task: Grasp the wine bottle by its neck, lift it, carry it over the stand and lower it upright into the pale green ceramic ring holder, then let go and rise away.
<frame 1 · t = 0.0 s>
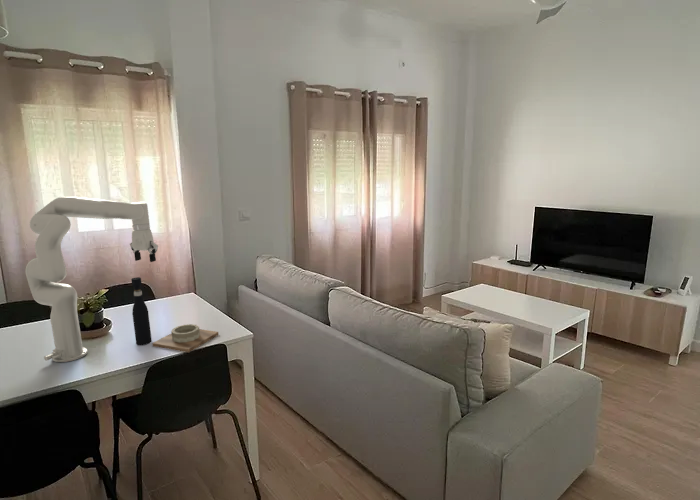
hand: (145, 260, 219), 31 cm above the table, tool pointing down, fingers open, 9 cm apart
bottle stand: (186, 340, 198), on the table
wine bottle: (144, 342, 196), on the table
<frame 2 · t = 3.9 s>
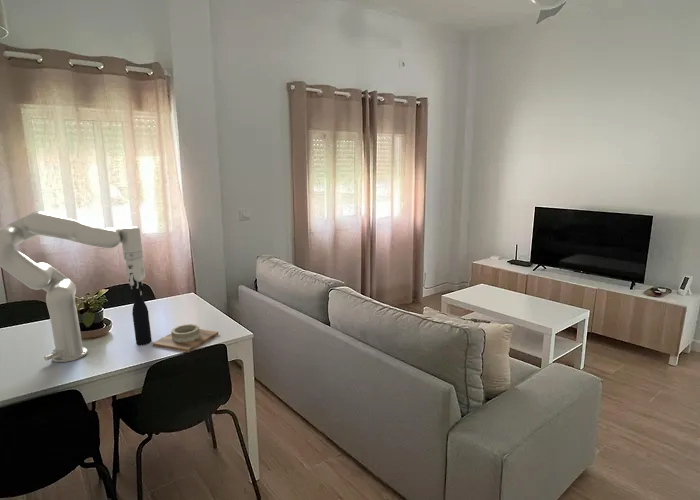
hand: (138, 295, 192), 22 cm above the table, tool pointing down, fingers closed on wine bottle, 3 cm apart
wine bottle: (144, 342, 196), on the table, touching gripper
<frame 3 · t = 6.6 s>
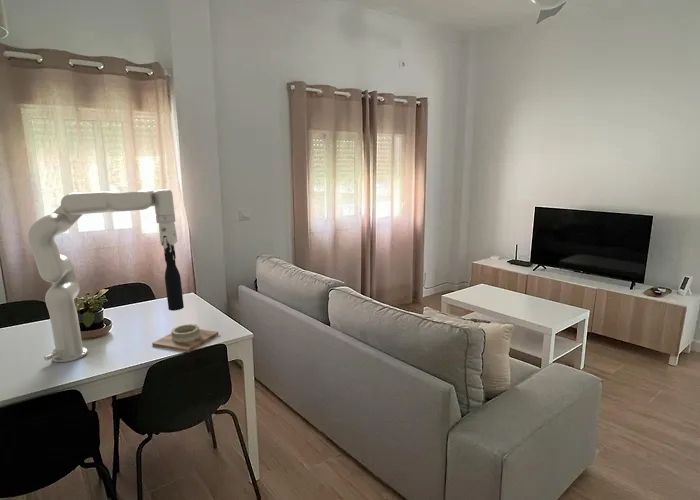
hand: (170, 259, 190), 38 cm above the table, tool pointing down, fingers closed on wine bottle, 3 cm apart
wine bottle: (176, 308, 194), point 15 cm above the table, touching gripper
when the fingers open (25 cm above the table, at t = 9.5 s): wine bottle drops 1 cm, resting on bottle stand.
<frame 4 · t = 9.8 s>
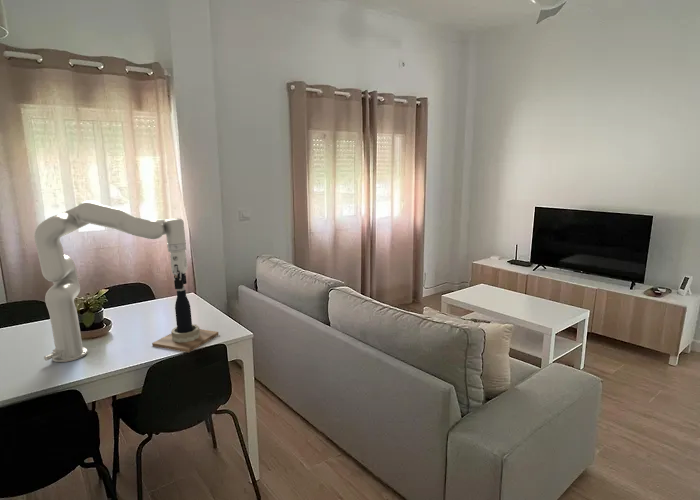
hand: (180, 286, 192), 26 cm above the table, tool pointing down, fingers open, 7 cm apart
wine bottle: (185, 337, 197), point 1 cm above the table, touching bottle stand
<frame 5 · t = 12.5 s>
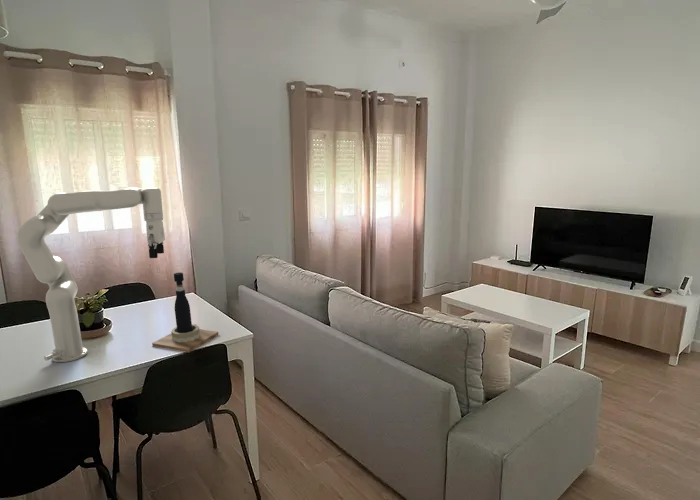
hand: (156, 255, 190), 40 cm above the table, tool pointing down, fingers open, 9 cm apart
nothing on the table moved.
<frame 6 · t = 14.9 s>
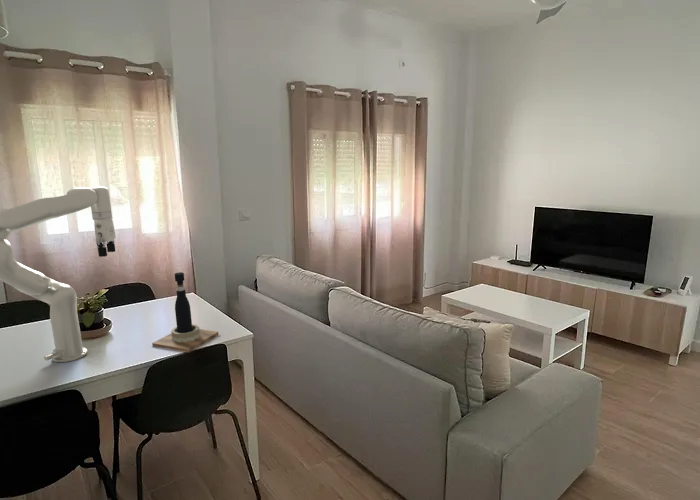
hand: (107, 254, 192), 40 cm above the table, tool pointing down, fingers open, 9 cm apart
nothing on the table moved.
at the end: wine bottle 0.3 cm off-centre on the bottle stand, point 1.3 cm above the bottle stand's base; wine bottle tilted 0°; the gripper is holding nothing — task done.
